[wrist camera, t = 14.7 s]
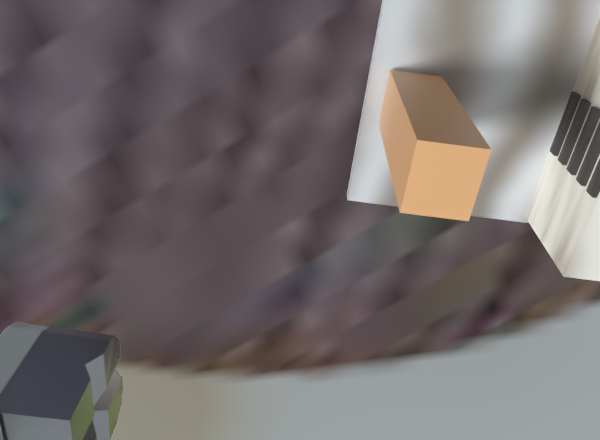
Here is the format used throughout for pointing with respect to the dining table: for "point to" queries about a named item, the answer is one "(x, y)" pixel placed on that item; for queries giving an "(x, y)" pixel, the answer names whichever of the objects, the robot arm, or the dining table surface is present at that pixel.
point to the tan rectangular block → (431, 147)
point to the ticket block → (505, 110)
